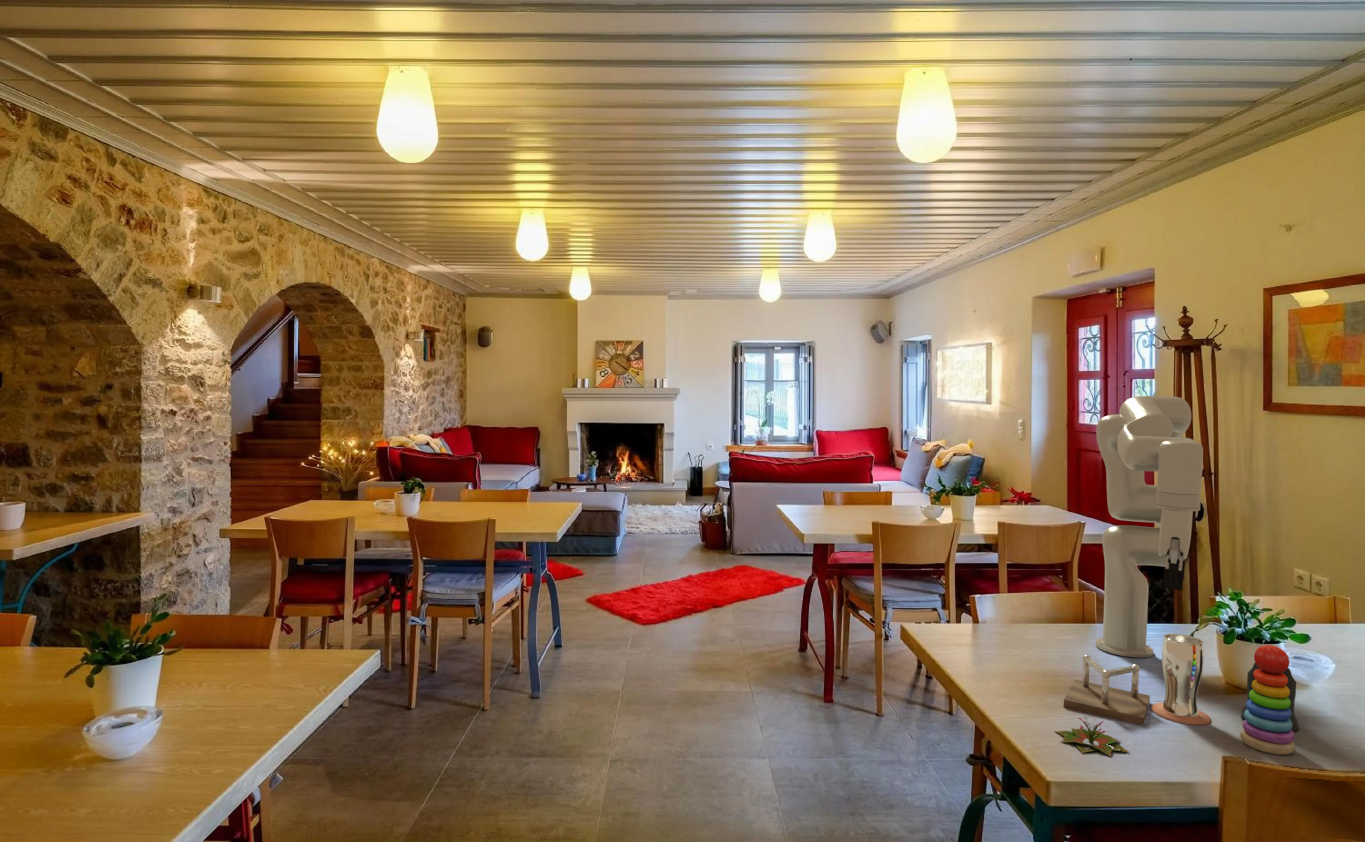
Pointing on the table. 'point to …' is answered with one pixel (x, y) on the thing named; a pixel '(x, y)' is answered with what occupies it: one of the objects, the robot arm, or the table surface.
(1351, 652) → the table surface
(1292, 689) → the mug
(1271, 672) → the stacking toy
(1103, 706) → the board
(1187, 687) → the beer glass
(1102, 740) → the lily flower
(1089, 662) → the bent wire
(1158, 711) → the pad
